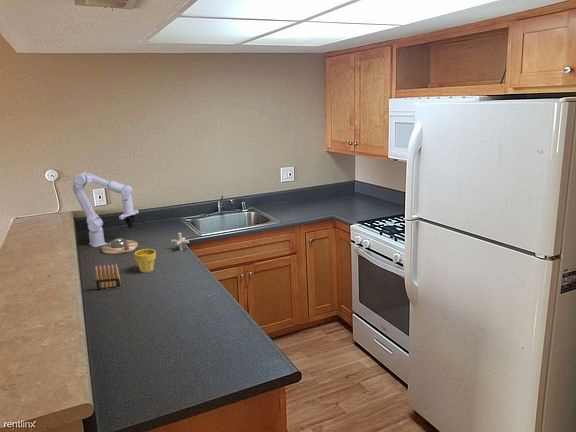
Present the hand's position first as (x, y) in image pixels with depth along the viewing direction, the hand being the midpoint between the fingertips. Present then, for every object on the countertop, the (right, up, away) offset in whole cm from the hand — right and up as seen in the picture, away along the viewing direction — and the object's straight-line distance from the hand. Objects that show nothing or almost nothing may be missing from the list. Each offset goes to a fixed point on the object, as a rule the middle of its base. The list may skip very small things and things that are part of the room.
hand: (130, 227), depth 272 cm
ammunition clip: (+11, -27, -60) cm, 67 cm away
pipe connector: (+33, -12, -11) cm, 37 cm away
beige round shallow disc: (-4, -12, -7) cm, 15 cm away
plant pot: (+22, -21, -40) cm, 50 cm away
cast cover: (-4, -10, -8) cm, 14 cm away
